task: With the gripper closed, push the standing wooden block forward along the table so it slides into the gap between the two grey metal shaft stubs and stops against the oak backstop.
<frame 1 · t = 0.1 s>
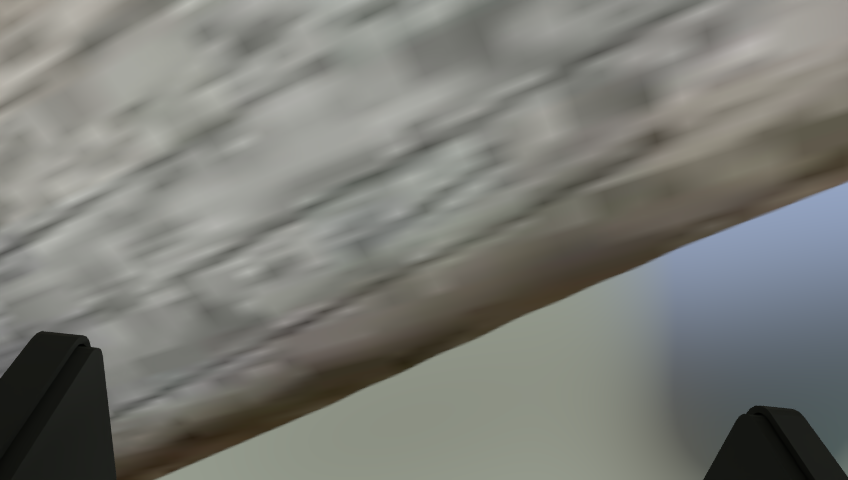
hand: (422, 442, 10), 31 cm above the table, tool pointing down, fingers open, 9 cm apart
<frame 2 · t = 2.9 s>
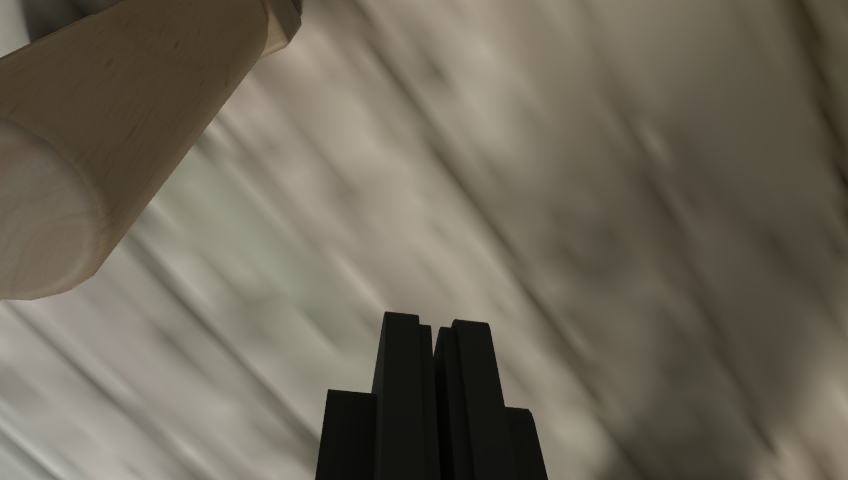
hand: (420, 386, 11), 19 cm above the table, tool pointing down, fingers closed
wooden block: (168, 35, 26), on the table
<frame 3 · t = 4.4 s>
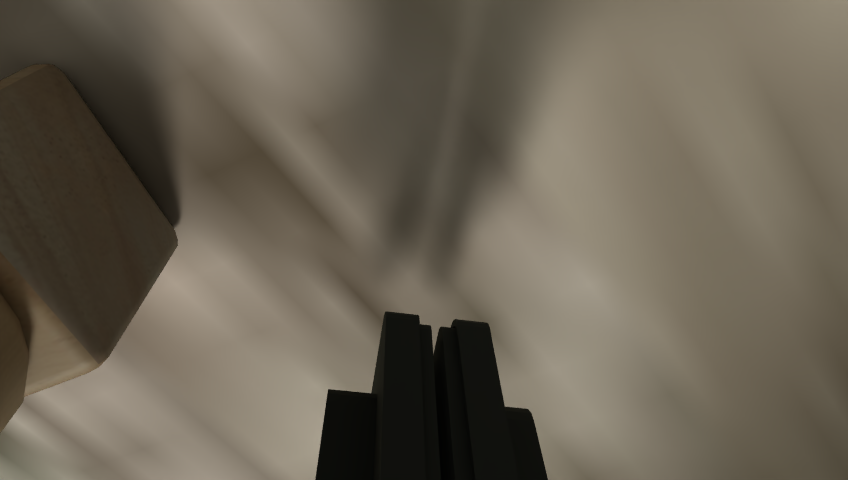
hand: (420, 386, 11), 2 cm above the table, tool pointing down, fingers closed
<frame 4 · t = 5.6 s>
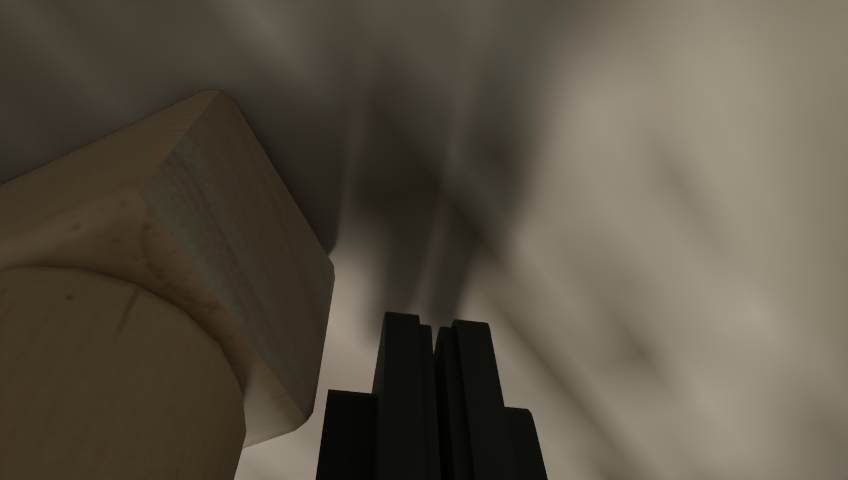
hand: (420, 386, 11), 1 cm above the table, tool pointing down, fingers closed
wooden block: (20, 291, 11), on the table, touching gripper
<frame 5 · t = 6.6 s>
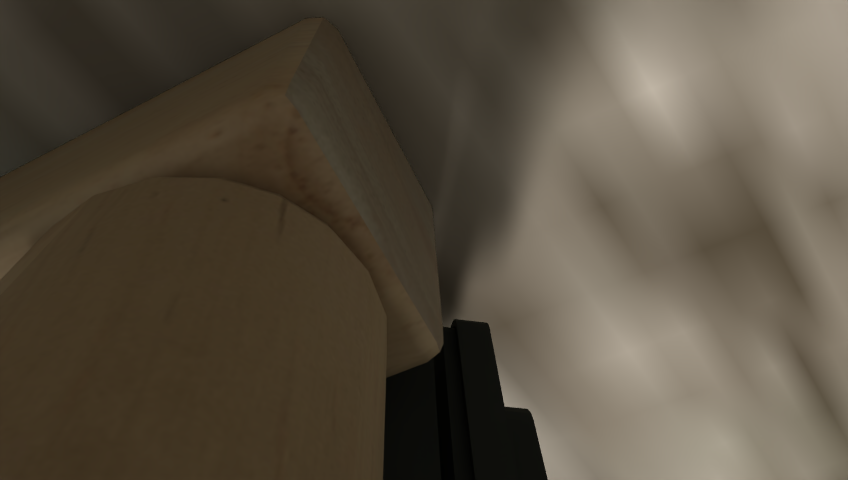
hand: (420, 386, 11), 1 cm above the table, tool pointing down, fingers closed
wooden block: (103, 248, 11), on the table, touching gripper
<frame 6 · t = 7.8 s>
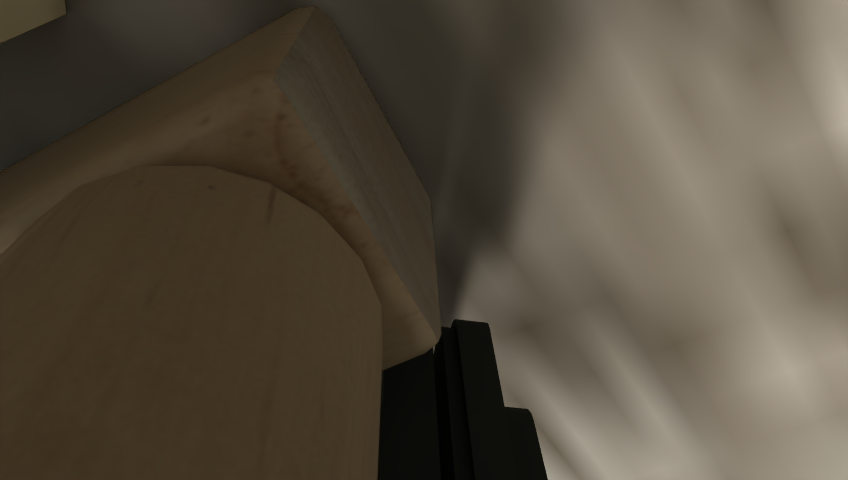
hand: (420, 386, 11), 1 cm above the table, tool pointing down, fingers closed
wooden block: (100, 246, 11), on the table, touching gripper
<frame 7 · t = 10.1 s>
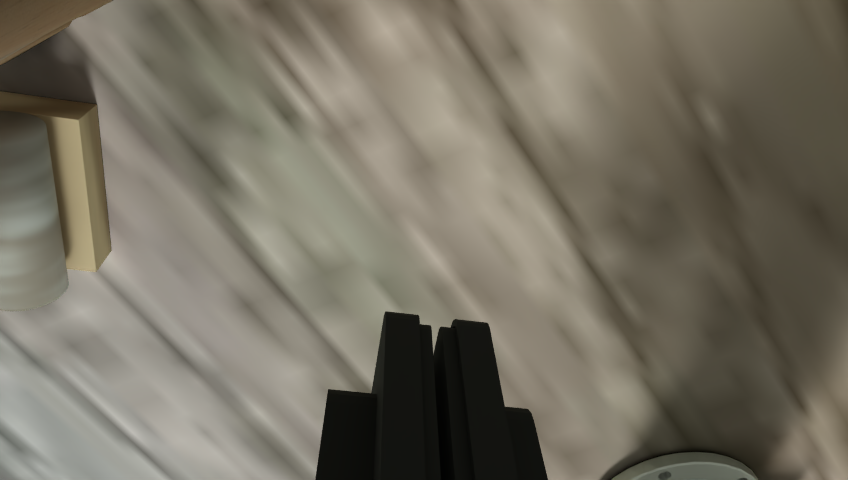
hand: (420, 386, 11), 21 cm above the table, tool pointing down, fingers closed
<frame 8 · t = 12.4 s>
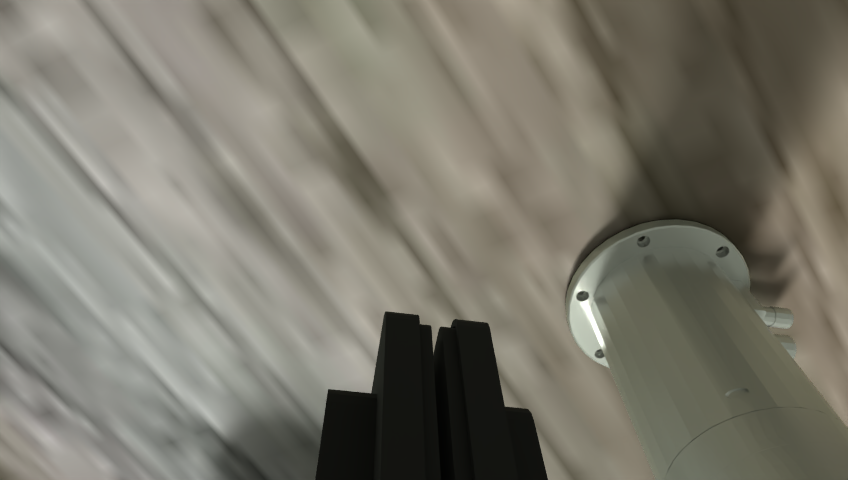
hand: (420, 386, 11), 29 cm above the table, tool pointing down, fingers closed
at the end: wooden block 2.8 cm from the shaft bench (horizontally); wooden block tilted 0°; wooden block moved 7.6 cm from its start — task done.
